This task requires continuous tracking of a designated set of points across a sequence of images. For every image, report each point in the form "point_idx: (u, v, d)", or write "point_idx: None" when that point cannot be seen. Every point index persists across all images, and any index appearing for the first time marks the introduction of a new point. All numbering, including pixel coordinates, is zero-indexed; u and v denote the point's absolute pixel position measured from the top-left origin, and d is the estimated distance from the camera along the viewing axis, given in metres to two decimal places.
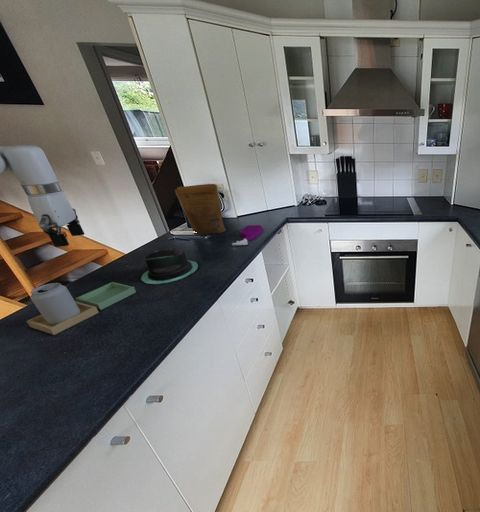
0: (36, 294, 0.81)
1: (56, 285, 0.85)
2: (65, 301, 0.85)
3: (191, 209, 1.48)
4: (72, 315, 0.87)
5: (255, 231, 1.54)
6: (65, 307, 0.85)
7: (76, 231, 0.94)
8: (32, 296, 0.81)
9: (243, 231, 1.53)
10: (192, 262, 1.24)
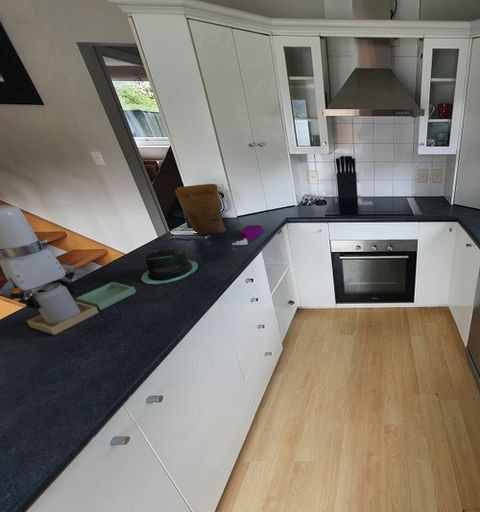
0: (36, 294, 0.81)
1: (56, 285, 0.85)
2: (65, 301, 0.85)
3: (191, 209, 1.48)
4: (72, 315, 0.87)
5: (255, 231, 1.54)
6: (65, 307, 0.85)
7: None
8: (32, 296, 0.81)
9: (243, 231, 1.53)
10: (192, 262, 1.24)
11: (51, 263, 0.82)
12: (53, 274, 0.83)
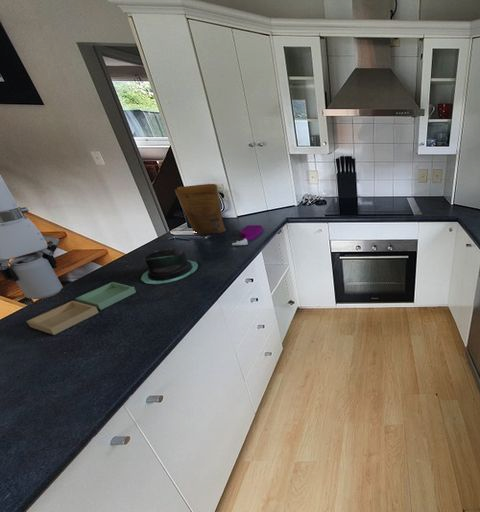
0: (14, 265, 0.76)
1: (37, 257, 0.81)
2: (46, 274, 0.80)
3: (191, 209, 1.48)
4: (53, 290, 0.83)
5: (255, 231, 1.54)
6: (46, 281, 0.81)
7: None
8: (10, 267, 0.76)
9: (243, 231, 1.53)
10: (192, 262, 1.24)
11: (32, 233, 0.77)
12: (34, 245, 0.78)
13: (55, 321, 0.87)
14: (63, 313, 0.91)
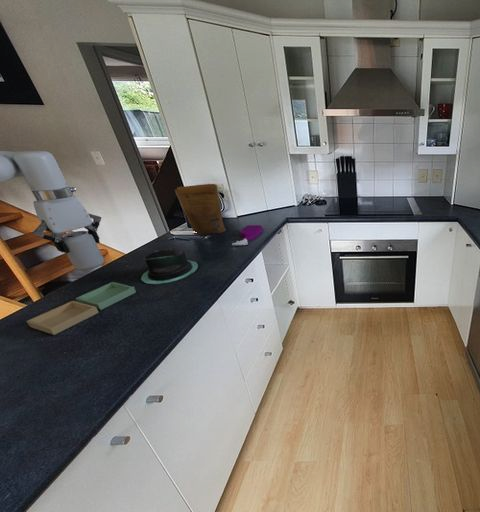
0: (66, 238, 0.86)
1: (83, 233, 0.90)
2: (91, 248, 0.90)
3: (191, 209, 1.48)
4: (98, 262, 0.92)
5: (255, 231, 1.54)
6: (92, 253, 0.90)
7: None
8: (62, 240, 0.86)
9: (243, 231, 1.53)
10: (192, 262, 1.24)
11: (79, 210, 0.87)
12: (81, 221, 0.88)
13: (55, 321, 0.87)
14: (63, 313, 0.91)
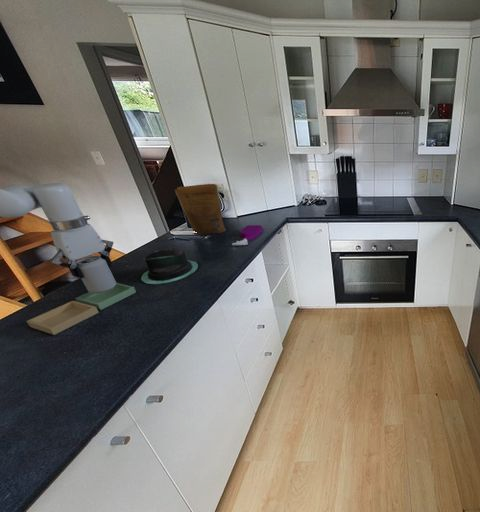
0: (81, 264, 0.90)
1: (96, 258, 0.95)
2: (104, 272, 0.94)
3: (191, 209, 1.48)
4: (110, 285, 0.97)
5: (255, 231, 1.54)
6: (105, 277, 0.95)
7: None
8: (77, 266, 0.90)
9: (243, 231, 1.53)
10: (192, 262, 1.24)
11: (93, 237, 0.91)
12: (95, 247, 0.92)
13: (55, 321, 0.87)
14: (63, 313, 0.91)
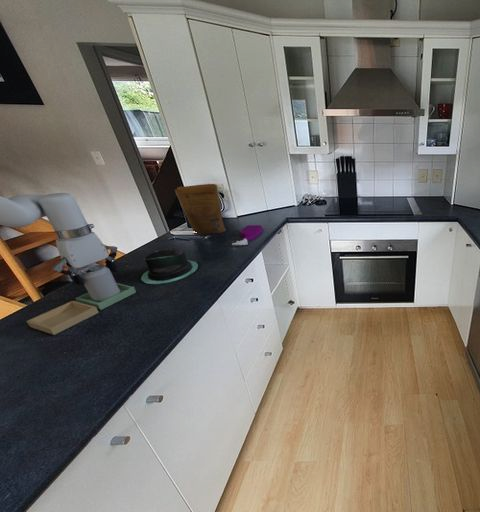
0: (85, 273, 0.92)
1: (101, 267, 0.96)
2: (108, 281, 0.96)
3: (191, 209, 1.48)
4: (114, 294, 0.98)
5: (255, 231, 1.54)
6: (109, 286, 0.96)
7: (110, 268, 0.99)
8: (82, 275, 0.92)
9: (243, 231, 1.53)
10: (192, 262, 1.24)
11: (97, 245, 0.93)
12: (99, 255, 0.93)
13: (55, 321, 0.87)
14: (63, 313, 0.91)
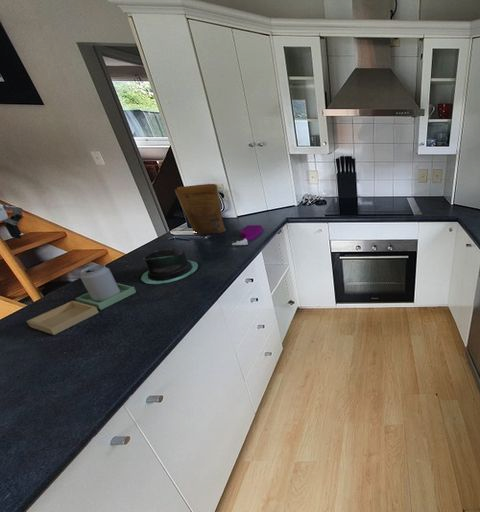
0: (85, 273, 0.92)
1: (100, 266, 0.96)
2: (108, 281, 0.96)
3: (191, 209, 1.48)
4: (114, 293, 0.98)
5: (255, 231, 1.54)
6: (109, 286, 0.96)
7: (12, 233, 0.81)
8: (81, 275, 0.92)
9: (243, 231, 1.53)
10: (192, 262, 1.24)
11: None
12: None
13: (55, 321, 0.87)
14: (63, 313, 0.91)
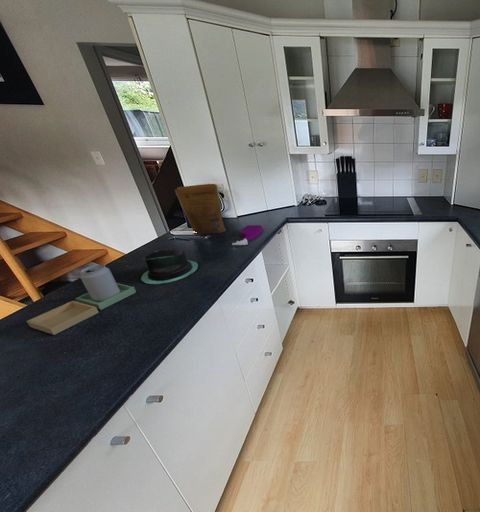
0: (85, 273, 0.92)
1: (100, 267, 0.96)
2: (108, 281, 0.96)
3: (191, 209, 1.48)
4: (114, 293, 0.98)
5: (255, 231, 1.54)
6: (109, 286, 0.96)
7: None
8: (81, 275, 0.92)
9: (243, 231, 1.53)
10: (192, 262, 1.24)
11: None
12: None
13: (55, 321, 0.87)
14: (63, 313, 0.91)
